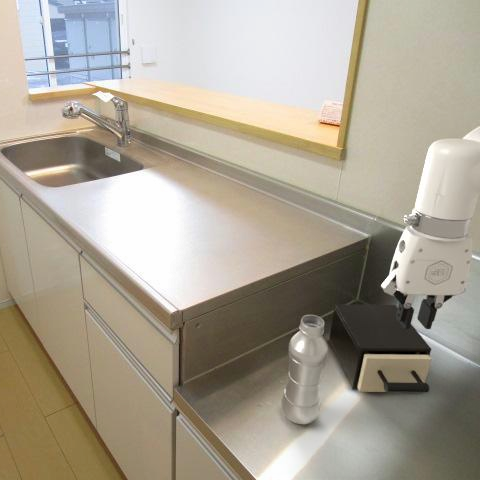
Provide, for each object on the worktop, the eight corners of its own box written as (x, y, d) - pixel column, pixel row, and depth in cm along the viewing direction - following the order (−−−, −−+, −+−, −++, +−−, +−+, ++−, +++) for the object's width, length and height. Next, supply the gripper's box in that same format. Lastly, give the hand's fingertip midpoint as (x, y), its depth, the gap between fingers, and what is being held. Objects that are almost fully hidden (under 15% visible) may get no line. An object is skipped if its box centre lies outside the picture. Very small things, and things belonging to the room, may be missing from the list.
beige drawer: (435, 412, 79) (446, 377, 76) (369, 411, 79) (377, 376, 76) (390, 346, 96) (397, 315, 92) (336, 346, 96) (341, 315, 93)
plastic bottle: (321, 409, 81) (338, 316, 73) (312, 435, 76) (329, 338, 68) (286, 396, 84) (298, 305, 76) (275, 420, 79) (286, 326, 71)
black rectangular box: (419, 389, 85) (431, 348, 81) (352, 389, 86) (360, 348, 82) (386, 342, 98) (395, 304, 94) (328, 341, 99) (334, 304, 95)
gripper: (396, 232, 65) (372, 337, 72) (511, 232, 64) (476, 338, 72) (375, 214, 72) (355, 311, 79) (479, 214, 71) (450, 312, 79)
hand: (413, 323), depth 75 cm, fingers closed
